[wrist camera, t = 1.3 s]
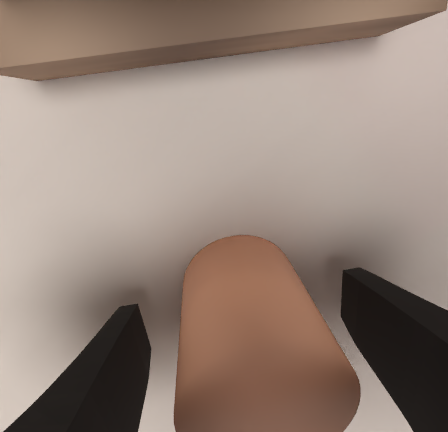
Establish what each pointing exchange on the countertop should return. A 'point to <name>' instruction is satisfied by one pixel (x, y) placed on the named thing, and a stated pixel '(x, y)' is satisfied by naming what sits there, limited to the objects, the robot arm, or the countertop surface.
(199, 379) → the cylinder
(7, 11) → the tower base
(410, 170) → the countertop surface
